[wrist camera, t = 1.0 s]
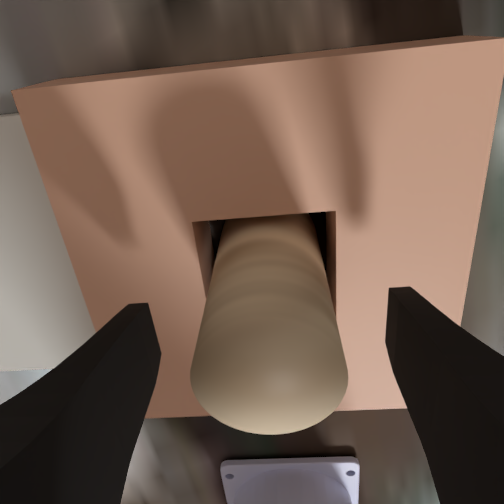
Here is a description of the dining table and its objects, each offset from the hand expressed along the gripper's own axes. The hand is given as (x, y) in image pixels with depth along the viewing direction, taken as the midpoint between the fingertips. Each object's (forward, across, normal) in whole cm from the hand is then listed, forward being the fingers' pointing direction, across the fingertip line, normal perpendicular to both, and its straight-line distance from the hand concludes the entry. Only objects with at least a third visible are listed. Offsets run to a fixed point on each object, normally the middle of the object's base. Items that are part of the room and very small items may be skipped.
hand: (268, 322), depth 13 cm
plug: (+6, 0, 0) cm, 6 cm away
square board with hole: (+6, 0, 0) cm, 6 cm away
